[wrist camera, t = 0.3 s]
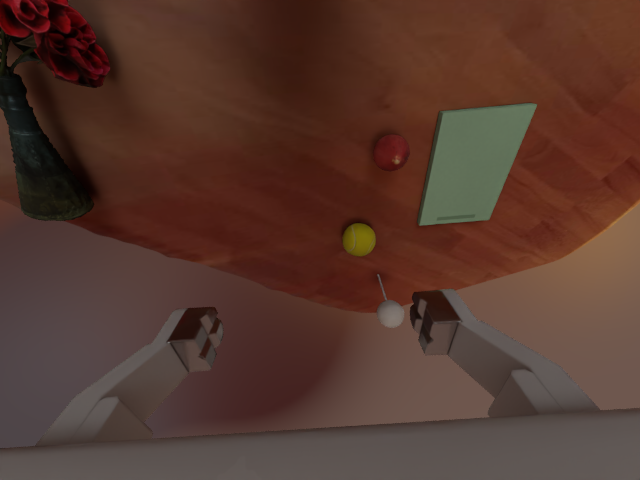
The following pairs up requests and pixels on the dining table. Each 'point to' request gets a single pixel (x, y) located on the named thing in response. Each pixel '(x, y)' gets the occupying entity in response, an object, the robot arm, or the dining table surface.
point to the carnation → (10, 95)
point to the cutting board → (471, 161)
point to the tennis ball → (359, 239)
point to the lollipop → (389, 311)
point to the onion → (391, 152)
